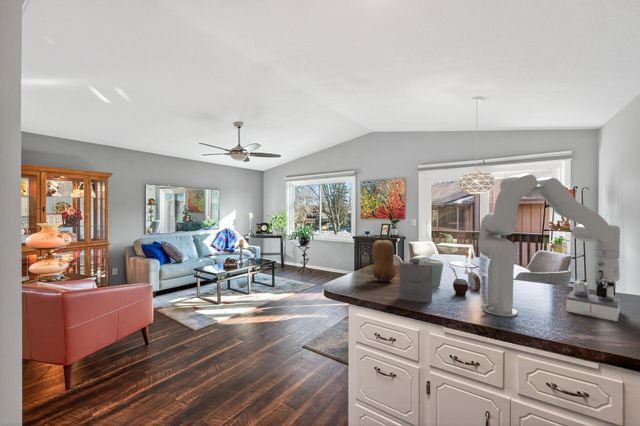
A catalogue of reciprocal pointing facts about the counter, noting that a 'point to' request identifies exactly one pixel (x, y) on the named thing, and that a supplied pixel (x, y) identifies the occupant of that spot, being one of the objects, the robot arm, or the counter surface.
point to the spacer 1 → (581, 289)
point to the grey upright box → (415, 281)
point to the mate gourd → (460, 286)
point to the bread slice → (474, 281)
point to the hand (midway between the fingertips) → (605, 295)
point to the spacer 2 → (608, 294)
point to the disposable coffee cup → (435, 271)
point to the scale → (593, 306)
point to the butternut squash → (384, 261)
